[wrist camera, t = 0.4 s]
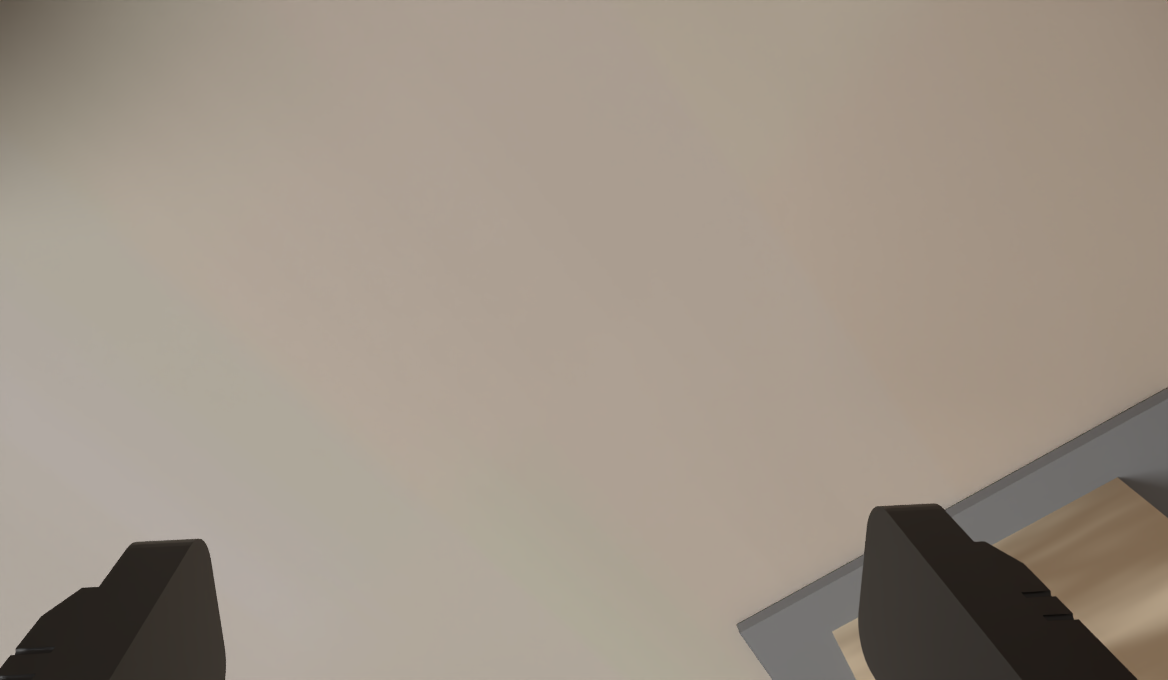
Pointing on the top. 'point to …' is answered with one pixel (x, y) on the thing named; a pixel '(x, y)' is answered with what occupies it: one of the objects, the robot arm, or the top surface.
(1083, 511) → the stool
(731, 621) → the top surface
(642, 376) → the top surface
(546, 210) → the top surface
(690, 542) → the top surface
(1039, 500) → the mat
